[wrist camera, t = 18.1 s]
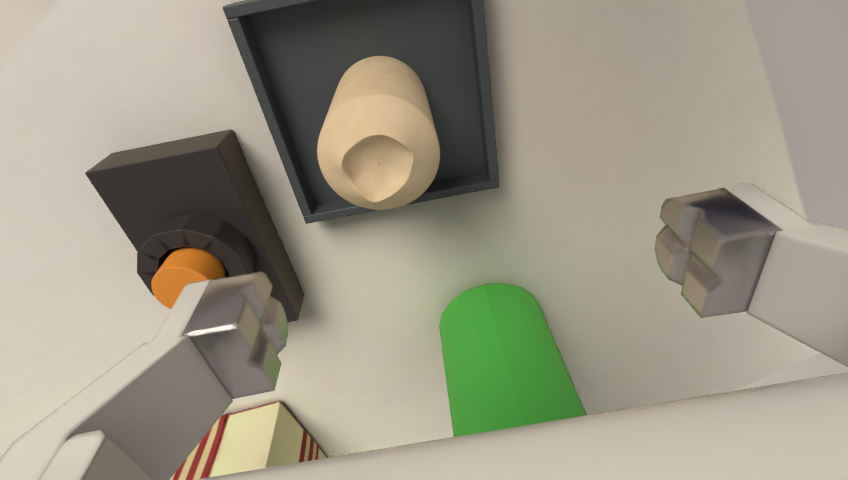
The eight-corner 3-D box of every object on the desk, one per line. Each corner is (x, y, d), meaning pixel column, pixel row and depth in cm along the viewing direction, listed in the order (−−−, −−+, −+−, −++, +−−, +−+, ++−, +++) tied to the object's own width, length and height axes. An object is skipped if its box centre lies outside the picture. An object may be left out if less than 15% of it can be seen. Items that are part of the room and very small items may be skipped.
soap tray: (233, 2, 24) (221, 6, 22) (472, -48, 23) (478, -48, 22) (310, 209, 31) (305, 224, 29) (493, 174, 31) (499, 187, 29)
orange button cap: (154, 253, 27) (138, 273, 25) (211, 242, 27) (198, 262, 25) (182, 296, 29) (169, 318, 27) (235, 286, 29) (225, 308, 27)
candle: (412, 154, 29) (422, 237, 20) (328, 132, 28) (302, 211, 19) (438, 70, 26) (461, 126, 18) (346, 41, 25) (325, 87, 16)
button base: (111, 153, 28) (62, 188, 24) (232, 128, 28) (204, 160, 23) (209, 312, 36) (185, 359, 31) (304, 294, 35) (293, 340, 31)
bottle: (418, 325, 38) (453, 775, 17) (485, 259, 35) (631, 723, 14) (491, 363, 41) (595, 778, 21) (559, 307, 38) (766, 737, 17)
